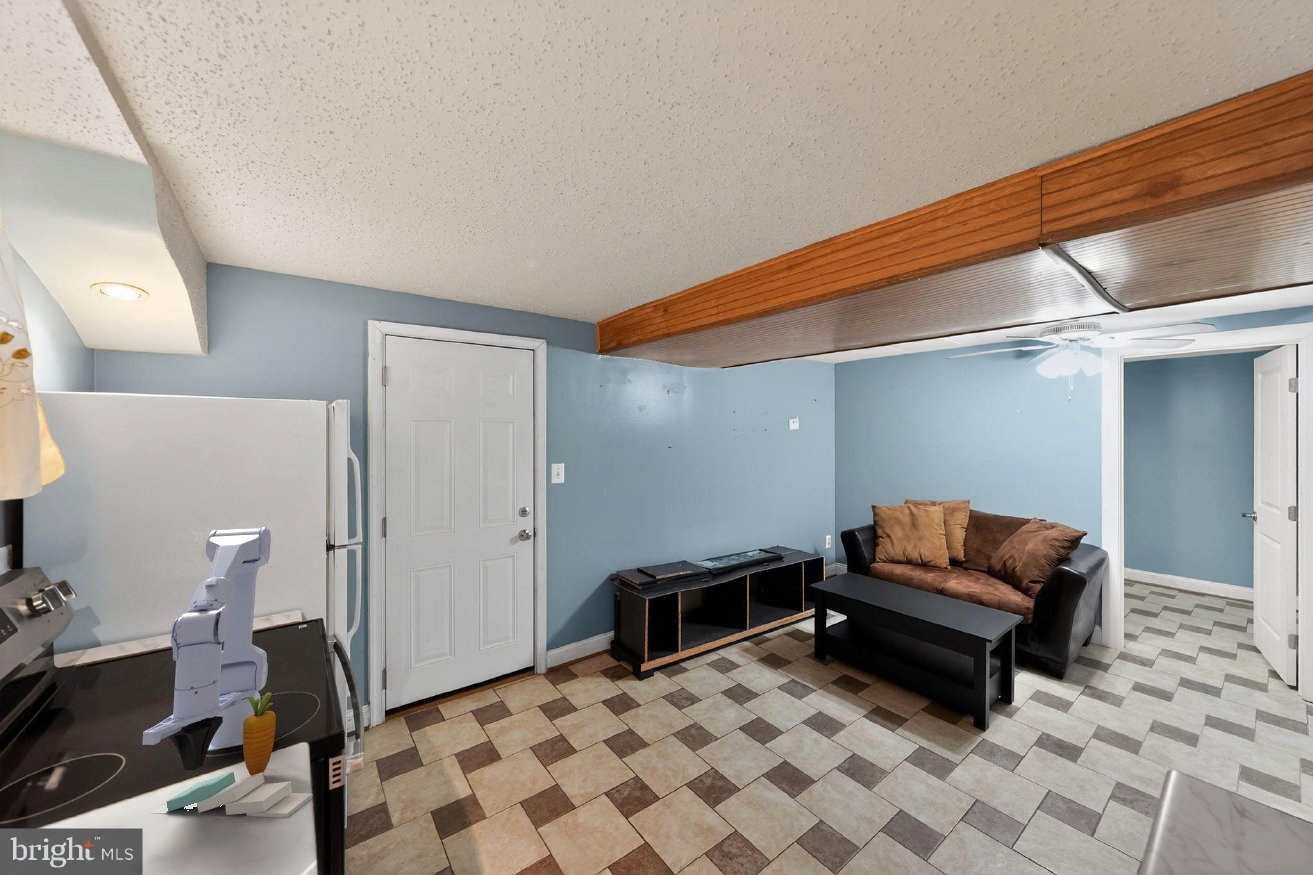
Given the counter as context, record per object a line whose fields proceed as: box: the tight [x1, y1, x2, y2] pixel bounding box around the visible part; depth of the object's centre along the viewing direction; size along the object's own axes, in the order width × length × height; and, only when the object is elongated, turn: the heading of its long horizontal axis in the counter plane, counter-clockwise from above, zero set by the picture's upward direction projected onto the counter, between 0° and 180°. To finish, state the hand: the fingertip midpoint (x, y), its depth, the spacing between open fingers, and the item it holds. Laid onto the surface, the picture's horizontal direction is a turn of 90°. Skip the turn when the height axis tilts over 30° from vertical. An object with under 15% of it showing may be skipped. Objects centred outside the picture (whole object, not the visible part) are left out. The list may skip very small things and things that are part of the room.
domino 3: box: [246, 792, 313, 818], centre depth 81 cm, size 2×5×7 cm
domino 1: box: [197, 773, 266, 813], centre depth 82 cm, size 2×5×7 cm
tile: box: [165, 771, 236, 812], centre depth 83 cm, size 2×5×7 cm
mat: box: [165, 804, 247, 818], centre depth 82 cm, size 16×6×1 cm, turn 84°
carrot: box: [242, 691, 277, 776], centre depth 90 cm, size 5×5×15 cm
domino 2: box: [225, 781, 293, 815], centre depth 81 cm, size 2×5×7 cm
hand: (193, 767), depth 83 cm, fingers closed
